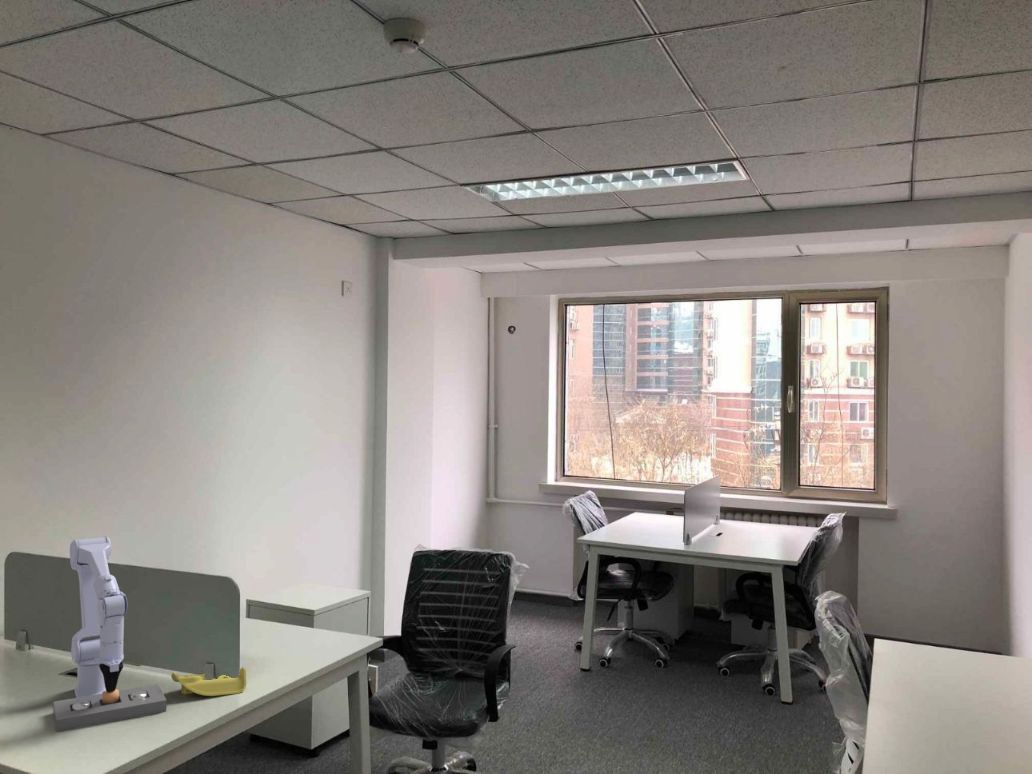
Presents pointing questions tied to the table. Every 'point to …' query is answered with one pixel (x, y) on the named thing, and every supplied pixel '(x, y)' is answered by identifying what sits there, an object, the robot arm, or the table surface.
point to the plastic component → (211, 684)
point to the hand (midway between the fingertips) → (110, 690)
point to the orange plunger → (110, 696)
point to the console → (108, 708)
